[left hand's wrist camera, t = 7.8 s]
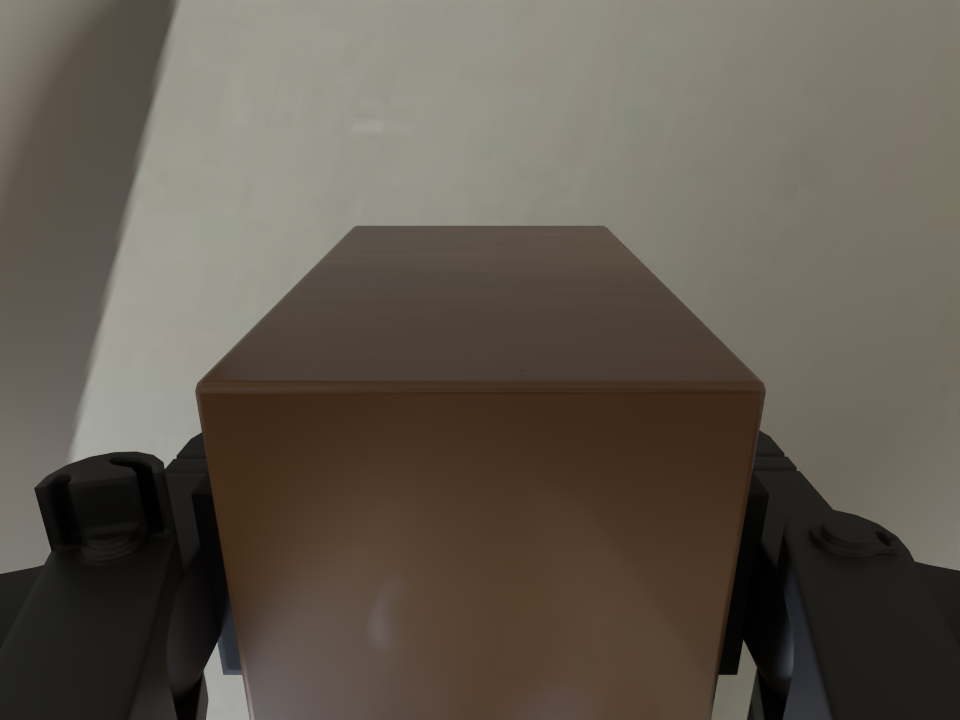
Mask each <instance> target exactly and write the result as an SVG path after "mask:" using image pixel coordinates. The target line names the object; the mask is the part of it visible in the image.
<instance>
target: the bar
mask: <svg viewBox="0 0 960 720" xmlns="http://www.w3.org/2000/svg"><path fill="white" fill-rule="evenodd" d="M195 391H196V399H197V405H198V411H199V417H200V423H201V429H202V435H203V441H204V447H205V453H206V459H207V465H208V471H209V477H210V483H211V489H212V495H213V501H214V507H215V513H216V519H217V525H218V531H219V537H220V543H221V549H222V555H223V561H224V567H225V573H226V579H227V585H228V591H229V597H230V603H231V609H232V615H233V621H234V627H235V633H236V639H237V645H238V651H239V657H240V663H241V669H242V675H243V681H244V687H245V693H246V699H247V705H248V711H249V717H250V720H711V716H712V710H713V704H714V698H715V692H716V686H717V680H718V674H719V668H720V662H721V656H722V650H723V644H724V638H725V632H726V626H727V620H728V614H729V608H730V602H731V596H732V590H733V584H734V578H735V572H736V566H737V560H738V554H739V548H740V542H741V536H742V530H743V524H744V518H745V512H746V506H747V500H748V494H749V488H750V482H751V476H752V470H753V464H754V459H755V453H756V447H757V441H758V435H759V429H760V423H761V417H762V411H763V405H764V399H765V391H766V390H765V386H764V383H763V382H762V381H761V380H760V379H759V378H758V377H757V376H756V375H755V374H754V373H753V372H752V371H751V370H750V369H749V368H748V367H747V366H746V365H745V364H744V363H743V362H742V361H741V360H740V359H739V358H738V357H737V356H736V355H735V354H734V353H733V352H732V351H731V350H730V349H729V348H728V347H727V346H726V345H725V344H724V343H723V342H722V341H721V340H720V339H719V338H718V337H717V336H716V335H714V334H713V333H712V332H711V331H710V330H709V329H708V328H707V327H706V326H705V325H704V324H703V323H702V322H701V321H700V320H699V319H698V318H697V317H696V316H695V315H694V314H693V313H692V312H691V311H690V310H689V309H688V308H687V307H686V306H685V305H684V304H683V303H682V302H681V301H680V300H679V299H678V298H677V297H676V296H675V295H674V294H673V293H672V292H671V291H670V290H669V289H668V288H667V287H666V286H665V285H664V284H663V283H662V282H661V281H660V280H659V279H658V278H657V277H656V276H655V275H654V274H653V273H652V272H651V271H650V270H649V269H648V268H647V267H646V266H645V265H644V264H643V263H642V262H641V261H640V260H639V259H638V258H637V257H636V256H635V255H634V254H633V253H632V252H631V251H630V250H629V249H628V248H627V247H626V246H625V245H624V244H623V243H622V242H621V241H620V240H619V239H618V238H617V237H616V236H615V235H614V234H613V233H612V232H611V231H610V230H609V229H608V228H607V227H605V226H356V227H354V228H353V229H352V230H351V231H350V232H349V233H348V234H347V235H346V236H345V237H344V238H343V239H342V240H341V241H340V242H339V243H338V244H337V245H336V246H335V247H334V248H333V249H332V250H331V251H330V252H329V253H328V254H327V255H326V256H325V257H324V258H323V259H322V260H321V261H320V262H319V263H318V264H317V265H316V266H315V267H313V268H312V269H311V270H310V271H309V272H308V273H307V274H306V275H305V276H304V277H303V278H302V279H301V280H300V281H299V282H298V283H297V284H296V285H295V286H294V287H293V288H292V289H291V290H290V291H289V292H288V293H287V294H286V295H285V296H284V297H283V298H282V299H281V300H280V301H279V302H278V303H277V304H276V305H275V306H274V307H273V308H272V309H271V310H270V311H269V312H268V313H267V314H266V315H265V316H264V317H263V318H262V319H261V320H260V321H259V322H258V323H257V324H256V325H255V326H254V327H253V328H252V329H251V330H250V331H249V332H248V333H247V334H246V335H245V336H244V337H243V338H242V339H241V340H240V341H239V342H238V343H237V344H236V345H235V346H234V347H233V348H232V349H231V350H230V351H229V352H228V353H227V354H226V355H225V356H224V357H223V358H222V359H221V360H220V361H219V362H218V363H217V364H216V365H215V366H214V367H213V368H212V369H211V370H210V371H209V372H208V373H207V374H206V375H205V376H204V377H203V378H202V379H201V380H200V381H199V382H198V383H197V386H196V390H195Z"/></svg>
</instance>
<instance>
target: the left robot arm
mask: <svg viewBox="0 0 960 720" xmlns="http://www.w3.org/2000/svg"><path fill="white" fill-rule="evenodd" d="M34 489H35V493H36V496H37V500H38V504H39V507H40V511H41V515H42V518H43V522H44V525H45V529H46V533H47V536H48V540H49V544H50V547H51V553H50V555H49V557H48V559H47V561H46V562H45V564H44V565H42V566H38V567H34V568H29V569H24V570H19V571H14V572H9V573H3V574H0V720H206V714H207V707H208V693H207V686H206V681H205V676H204V668H205V666H206V664H207V662H208V660H209V658H210V656H211V654H212V652H213V650H214V648H215V646H216V644H217V641H218V647H219V653H220V658H221V664H222V669H223V675H242V669H241V663H240V657H239V651H238V645H237V639H236V633H235V627H234V621H233V615H232V609H231V603H230V597H229V591H228V585H227V579H226V573H225V567H224V561H223V555H222V549H221V543H220V537H219V531H218V525H217V519H216V513H215V507H214V501H213V495H212V489H211V483H210V477H209V471H208V465H207V459H206V453H205V447H204V441H203V435H202V433H200V434H198V435H197V436H195V437H193V438H192V439H190V441H189V442H188V443H187V444H186V445H185V447H184V448H183V449H182V450H181V451H180V452H179V454H178V455H177V458H176V459H173V461H172V462H171V463H170V464H169V465H168V466H167V468H166V469H164V464H163V462H162V461H161V460H160V459H158V458H157V457H155V456H154V455H151V454H146V453H141V452H113V453H108V454H103V455H98V456H93V457H89V458H86V459H83V460H80V461H77V462H74V463H71V464H69V465H66V466H64V467H62V468H61V469H59V470H57V471H55V472H53V473H52V474H50V475H48V476H46V477H45V478H44V479H43V480H42V481H41V482H40V483H39V484H38V485H37V486H36V487H35V488H34ZM743 639H744V641H745V643H746V645H747V647H748V649H749V651H750V653H751V655H752V658H753V660H754V662H755V664H756V666H757V670H756V676H755V681H754V686H753V691H752V696H751V702H750V707H749V712H748V717H747V720H960V571H958V570H952V569H947V568H942V567H937V566H932V565H927V564H923V563H919V562H915V561H914V559H913V557H912V555H911V554H910V552H909V550H908V549H907V547H906V546H905V545H904V544H903V543H902V542H901V540H900V539H899V538H898V537H897V536H896V535H894V534H893V533H891V532H890V531H888V530H887V529H885V528H884V527H882V526H880V525H879V524H877V523H874V522H872V521H869V520H867V519H865V518H862V517H860V516H857V515H854V514H849V513H845V512H841V511H836V510H833V509H832V508H831V507H830V506H829V504H828V503H827V502H826V501H825V500H824V499H823V498H822V496H821V495H820V494H819V493H818V492H817V491H816V489H815V488H814V487H813V486H812V485H811V484H810V482H809V481H808V480H807V479H806V478H805V477H804V476H803V474H802V473H801V472H800V471H797V470H796V466H795V465H794V464H793V463H792V462H791V460H790V459H789V458H788V457H785V456H784V452H783V451H782V450H781V449H780V448H779V447H778V445H777V444H776V443H775V442H774V441H773V440H772V438H771V437H770V436H768V435H766V434H765V433H763V432H761V431H759V435H758V441H757V447H756V453H755V459H754V464H753V470H752V476H751V482H750V488H749V494H748V500H747V506H746V512H745V518H744V524H743V530H742V536H741V542H740V548H739V554H738V560H737V566H736V572H735V578H734V584H733V590H732V596H731V602H730V608H729V614H728V620H727V626H726V632H725V638H724V644H723V650H722V656H721V662H720V668H719V674H718V675H737V672H738V666H739V661H740V655H741V650H742V644H743Z"/></svg>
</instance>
